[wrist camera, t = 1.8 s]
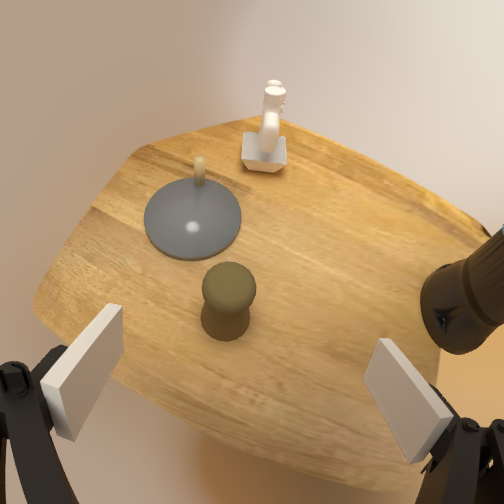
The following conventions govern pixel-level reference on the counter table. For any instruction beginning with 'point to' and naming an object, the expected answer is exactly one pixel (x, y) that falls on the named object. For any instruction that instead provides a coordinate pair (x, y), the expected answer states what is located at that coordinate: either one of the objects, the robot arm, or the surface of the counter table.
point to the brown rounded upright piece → (227, 300)
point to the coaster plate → (192, 217)
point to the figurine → (267, 135)
